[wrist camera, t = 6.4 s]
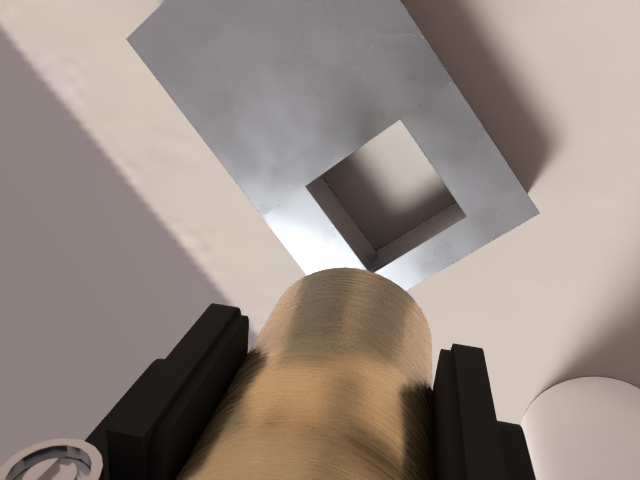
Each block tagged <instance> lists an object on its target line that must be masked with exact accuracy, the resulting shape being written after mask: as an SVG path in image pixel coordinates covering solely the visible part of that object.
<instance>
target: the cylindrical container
mask: <svg viewBox="0 0 640 480" xmlns="http://www.w3.org/2000/svg"><path fill="white" fill-rule="evenodd" d="M521 427H522V429H523V432H524V435H525V439H526V442H527V446H528V450H529V454H530V458H531V462H532V466H533V470H534V473H535V477H536V480H640V389H639V388H637V387H635V386H633V385H631V384H629V383H627V382H624V381H620V380H617V379H613V378H606V377H581V378H576V379H571V380H567V381H564V382H562V383H559V384H556V385H554V386H552V387H551V388H549V389H547V390H546V391H544V392H543V393H541V394H540V395H539V396H538V397H537V398H536V399H535V400H534V401H533V402H532V403H531V404H530V406H529V407H528V409H527V410H526V412H525V414H524V417H523V419H522V423H521Z"/></svg>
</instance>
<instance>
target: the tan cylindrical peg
mask: <svg viewBox="0 0 640 480" xmlns="http://www.w3.org/2000/svg"><path fill="white" fill-rule="evenodd" d="M175 480H435V474H434V432H433V381H432V344H431V334H430V329H429V326H428V323H427V320H426V318H425V316H424V314H423V312H422V310H421V309H420V307H419V306H418V304H417V303H416V302H415V300H414V299H413V298H412V297H411V296H410V295H409V294H408V293H407V292H406V291H405V290H404V289H402V288H401V287H400V286H399V285H397V284H396V283H394V282H393V281H391V280H390V279H387V278H385V277H383V276H381V275H379V274H376V273H373V272H370V271H367V270H362V269H358V268H347V267H344V268H331V269H324V270H321V271H317V272H314V273H312V274H310V275H307V276H305V277H303V278H302V279H300V280H299V281H297V282H295V283H294V284H293V285H292V286H291V287H290V288H288V289H287V291H286V292H285V293H284V294H283V295H282V296H281V298H280V299H279V301H278V303H277V304H276V306H275V308H274V309H273V311H272V313H271V315H270V316H269V318H268V320H267V321H266V323H265V325H264V327H263V328H262V330H261V332H260V334H259V335H258V337H257V339H256V341H255V342H254V344H253V346H252V348H251V350H250V351H249V353H248V354H247V356H246V358H245V360H244V361H243V363H242V365H241V367H240V368H239V370H238V372H237V374H236V375H235V377H234V379H233V381H232V382H231V384H230V386H229V387H228V389H227V391H226V393H225V394H224V396H223V398H222V400H221V401H220V403H219V405H218V407H217V408H216V410H215V412H214V414H213V415H212V417H211V419H210V420H209V422H208V424H207V426H206V427H205V429H204V431H203V433H202V434H201V436H200V438H199V440H198V441H197V443H196V445H195V446H194V448H193V450H192V452H191V453H190V455H189V457H188V459H187V460H186V462H185V464H184V466H183V467H182V469H181V471H180V473H179V474H178V476H177V478H176V479H175Z"/></svg>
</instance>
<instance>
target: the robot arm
mask: <svg viewBox="0 0 640 480" xmlns="http://www.w3.org/2000/svg"><path fill="white" fill-rule="evenodd" d="M248 331H249V319H248V316H243V315H241V311H240V309H239V308H238V307H232V306H226V305H220V304H213V303H212V304H211V305H210V306H209V307H208V308H207V309H206V311H205V312H204V313H203V314H202V315H201V317H200V318H199V319H198V320H197V321H196V323H195V324H194V325H193V326H192V327H191V329H190V330H189V331H188V332H187V333H186V335H185V336H184V337H183V338H182V339H181V341H180V342H179V343H178V344H177V345H176V347H175V348H174V349H173V350H172V352H171V353H170V354H169V355H168V356H167V358H166V359H156V360H155V361H154V362H153V363H152V364H151V365H150V366H149V367H148V368H147V369H146V371H145V372H144V373H143V374H142V375H141V376H140V377H139V379H138V380H137V381H136V382H135V383H134V384H133V385H132V387H131V388H130V389H129V390H128V391H127V393H126V394H125V395H124V396H123V397H122V398H121V399H120V401H119V402H118V403H117V404H116V405H115V406H114V407H113V409H112V410H111V411H110V412H109V413H108V415H107V416H106V417H105V418H104V419H103V420H102V421H101V423H100V424H99V425H98V426H97V427H96V428H95V430H94V431H93V432H92V433H91V434H90V435H89V436H88V438H87V439H86V440H85V441H82V440H77V439H71V438H69V439H54V440H49V441H44V442H40V443H37V444H35V445H33V446H30V447H28V448H25V449H23V450H22V451H20V452H19V453H17V454H16V455H14V456H12V457H11V458H10V459H9V460H8V461H7V462H6V463H5V464H4V465H3V466H2V467H1V468H0V480H175V479H176V478H177V476H178V474H179V473H180V471H181V469H182V467H183V466H184V464H185V462H186V460H187V459H188V457H189V455H190V453H191V452H192V450H193V448H194V446H195V445H196V443H197V441H198V440H199V438H200V436H201V434H202V433H203V431H204V429H205V427H206V426H207V424H208V422H209V420H210V419H211V417H212V415H213V414H214V412H215V410H216V408H217V407H218V405H219V403H220V401H221V400H222V398H223V396H224V394H225V393H226V391H227V389H228V387H229V386H230V384H231V382H232V381H233V379H234V377H235V375H236V374H237V372H238V370H239V368H240V367H241V365H242V363H243V361H244V360H245V358H246V356H247V352H248ZM433 432H434V474H435V480H536V477H535V473H534V470H533V466H532V462H531V458H530V454H529V450H528V446H527V442H526V439H525V435H524V432H523V429H522V427H521V426H520V425H518V424H512V423H507V422H502V421H497V419H496V414H495V409H494V404H493V398H492V393H491V388H490V383H489V378H488V372H487V367H486V362H485V357H484V352H483V349H482V348H477V347H471V346H465V345H459V344H453V345H452V347H451V351H450V350H444V349H441V351H440V355H439V360H438V365H437V370H436V375H435V381H434V386H433Z"/></svg>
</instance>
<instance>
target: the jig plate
mask: <svg viewBox="0 0 640 480" xmlns="http://www.w3.org/2000/svg"><path fill="white" fill-rule="evenodd" d="M126 39H127V41H128V42H129V43H130V45H131V46H132V47H133V49H134V50H135V51H136V53H137V54H138V55H139V56H140V58H141V59H142V60H143V62H144V63H145V64H146V66H147V67H148V68H149V70H150V71H151V72H152V73H153V75H154V76H155V77H156V79H157V80H158V81H159V83H160V84H161V85H162V86H163V88H164V89H165V90H166V92H167V93H168V94H169V96H170V97H171V98H172V100H173V101H174V102H175V103H176V105H177V106H178V107H179V109H180V110H181V111H182V113H183V114H184V115H185V117H186V118H187V119H188V120H189V122H190V123H191V124H192V126H193V127H194V128H195V130H196V131H197V132H198V134H199V135H200V136H201V137H202V139H203V140H204V141H205V143H206V144H207V145H208V147H209V148H210V149H211V150H212V152H213V153H214V154H215V156H216V157H217V158H218V160H219V161H220V162H221V164H222V165H223V166H224V167H225V169H226V170H227V171H228V173H229V174H230V175H231V177H232V178H233V179H234V181H235V182H236V183H237V184H238V186H239V187H240V188H241V190H242V191H243V192H244V194H245V195H246V196H247V197H248V199H249V200H250V201H251V203H252V204H253V205H254V207H255V208H256V209H257V211H258V212H259V213H260V214H261V216H262V217H263V218H264V220H265V221H266V222H267V224H268V225H269V226H270V228H271V229H272V230H273V231H274V233H275V234H276V235H277V237H278V238H279V239H280V241H281V242H282V243H283V245H284V246H285V247H286V248H287V250H288V251H289V252H290V254H291V255H292V256H293V258H294V259H295V260H296V261H297V263H298V264H299V265H300V267H301V268H302V269H303V271H304V272H305V273H306V275H310V274H312V273H314V272H317V271H321V270H324V269H331V268H344V267H347V268H358V269H362V270H367V271H370V272H373V273H376V274H379V275H381V276H383V277H385V278H387V279H390V280H391V281H393V282H394V283H396V284H397V285H399V286H400V287H401V288H402V289H404V290H405V291H406V290H408V289H410V288H411V287H413V286H415V285H417V284H418V283H420V282H422V281H424V280H425V279H427V278H429V277H431V276H432V275H434V274H436V273H437V272H439V271H441V270H443V269H444V268H446V267H448V266H450V265H451V264H453V263H455V262H456V261H458V260H460V259H462V258H463V257H465V256H467V255H469V254H470V253H472V252H474V251H476V250H477V249H479V248H481V247H482V246H484V245H486V244H488V243H489V242H491V241H493V240H495V239H496V238H498V237H500V236H501V235H503V234H505V233H507V232H508V231H510V230H512V229H514V228H515V227H517V226H519V225H521V224H522V223H524V222H526V221H527V220H529V219H531V218H533V217H534V216H536V215H538V214H540V212H539V211H538V209H537V208H536V206H535V205H534V203H533V202H532V200H531V199H530V197H529V196H528V194H527V193H526V191H525V190H524V188H523V187H522V185H521V184H520V182H519V180H518V179H517V177H516V176H515V174H514V173H513V171H512V170H511V168H510V167H509V165H508V164H507V162H506V161H505V159H504V158H503V156H502V155H501V153H500V151H499V150H498V148H497V147H496V145H495V144H494V142H493V141H492V139H491V138H490V136H489V135H488V133H487V132H486V130H485V129H484V127H483V126H482V124H481V123H480V121H479V119H478V118H477V116H476V115H475V113H474V112H473V110H472V109H471V107H470V106H469V104H468V103H467V101H466V100H465V98H464V97H463V95H462V94H461V92H460V91H459V89H458V87H457V86H456V84H455V83H454V81H453V80H452V78H451V77H450V75H449V74H448V72H447V71H446V69H445V68H444V66H443V65H442V63H441V62H440V60H439V58H438V57H437V55H436V54H435V52H434V51H433V49H432V48H431V46H430V45H429V43H428V42H427V40H426V39H425V37H424V36H423V34H422V33H421V31H420V30H419V28H418V26H417V25H416V23H415V22H414V20H413V19H412V17H411V16H410V14H409V13H408V11H407V10H406V8H405V7H404V5H403V4H402V2H401V1H400V0H166V1H165V2H164V3H163V4H162V5H161V6H160V7H159V8H158V9H156V10H155V11H154V12H153V13H152V14H151V15H150V16H149V17H148V18H147V19H146V20H145V21H144V22H143V23H142V24H141V25H140V26H139V27H138V28H137V29H136V30H135V31H134V32H133V33H132V34H131V35H130V36H129V37H128V38H126ZM399 119H400V120H401V121H402V122H403V124H404V125H405V127H406V128H407V130H408V131H409V133H410V134H411V136H412V137H413V139H414V140H415V141H416V143H417V144H418V146H419V147H420V149H421V150H422V152H423V153H424V155H425V156H426V158H427V159H428V160H429V162H430V163H431V165H432V166H433V168H434V169H435V171H436V172H437V174H438V175H439V176H440V178H441V179H442V181H443V182H444V184H445V185H446V187H447V188H448V190H449V191H450V193H451V194H452V195H453V197H454V198H455V200H456V201H457V202H455V203H454V204H452V205H450V206H449V207H447V208H446V209H444V210H442V211H441V212H439V213H437V214H436V215H434V216H433V217H431V218H429V219H428V220H426V221H425V222H423V223H421V224H420V225H418V226H417V227H415V228H413V229H412V230H410V231H408V232H407V233H405V234H404V235H402V236H400V237H399V238H397V239H396V240H394V241H392V242H391V243H389V244H388V245H386V246H384V247H383V248H381V249H379V250H378V251H375V250H374V248H373V247H372V246H371V244H370V243H369V241H368V240H367V239H366V237H365V236H364V235H363V233H362V232H361V231H360V229H359V228H358V226H357V225H356V224H355V222H354V221H353V220H352V218H351V217H350V215H349V214H348V213H347V211H346V210H345V209H344V207H343V206H342V205H341V203H340V202H339V200H338V199H337V198H336V196H335V195H334V194H333V192H332V191H331V189H330V188H329V187H328V185H327V184H326V183H325V181H324V180H323V179H322V177H321V176H320V175H322V174H323V173H325V172H326V171H327V170H329V169H330V168H332V167H333V166H334V165H336V164H337V163H339V162H340V161H341V160H343V159H344V158H346V157H347V156H349V155H350V154H351V153H353V152H354V151H356V150H357V149H358V148H360V147H361V146H363V145H364V144H365V143H367V142H368V141H370V140H371V139H373V138H374V137H375V136H377V135H378V134H380V133H381V132H382V131H384V130H385V129H387V128H388V127H389V126H391V125H392V124H394V123H395V122H397V121H398V120H399Z"/></svg>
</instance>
